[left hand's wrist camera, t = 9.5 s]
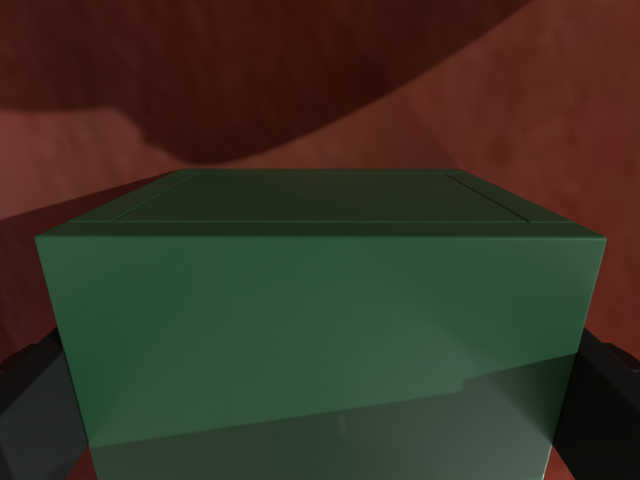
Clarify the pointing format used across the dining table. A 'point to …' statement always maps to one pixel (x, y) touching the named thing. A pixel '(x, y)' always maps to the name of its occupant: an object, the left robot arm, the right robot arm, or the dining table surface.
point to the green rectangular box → (320, 325)
